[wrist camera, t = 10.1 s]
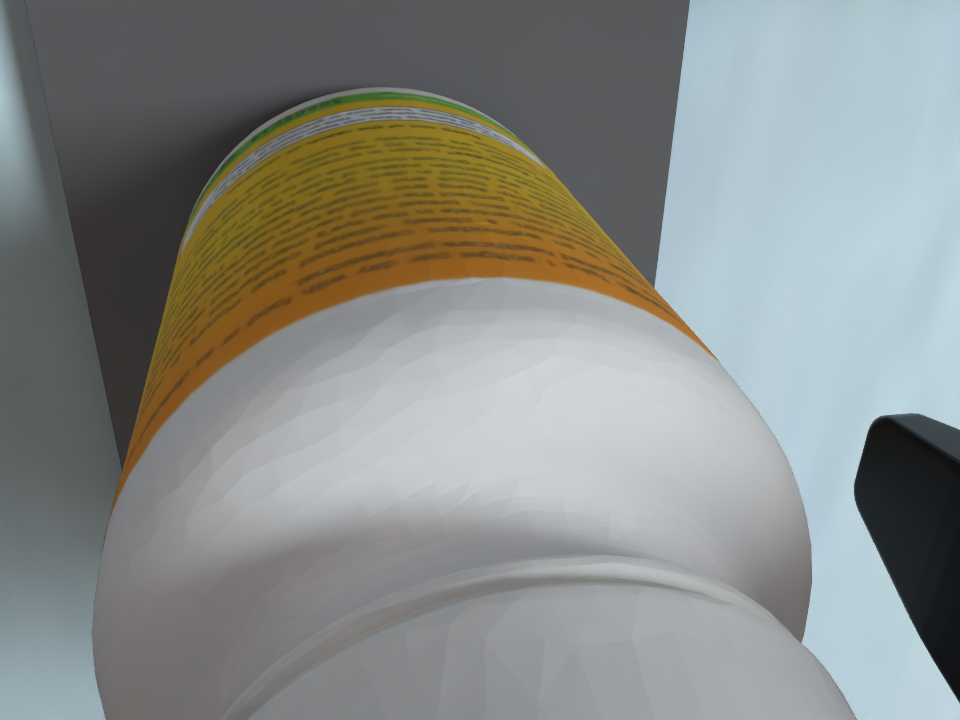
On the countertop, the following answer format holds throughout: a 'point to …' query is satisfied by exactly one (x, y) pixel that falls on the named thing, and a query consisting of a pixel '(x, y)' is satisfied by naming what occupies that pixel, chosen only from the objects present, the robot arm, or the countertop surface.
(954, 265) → the countertop surface
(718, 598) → the supplement bottle
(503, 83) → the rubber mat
